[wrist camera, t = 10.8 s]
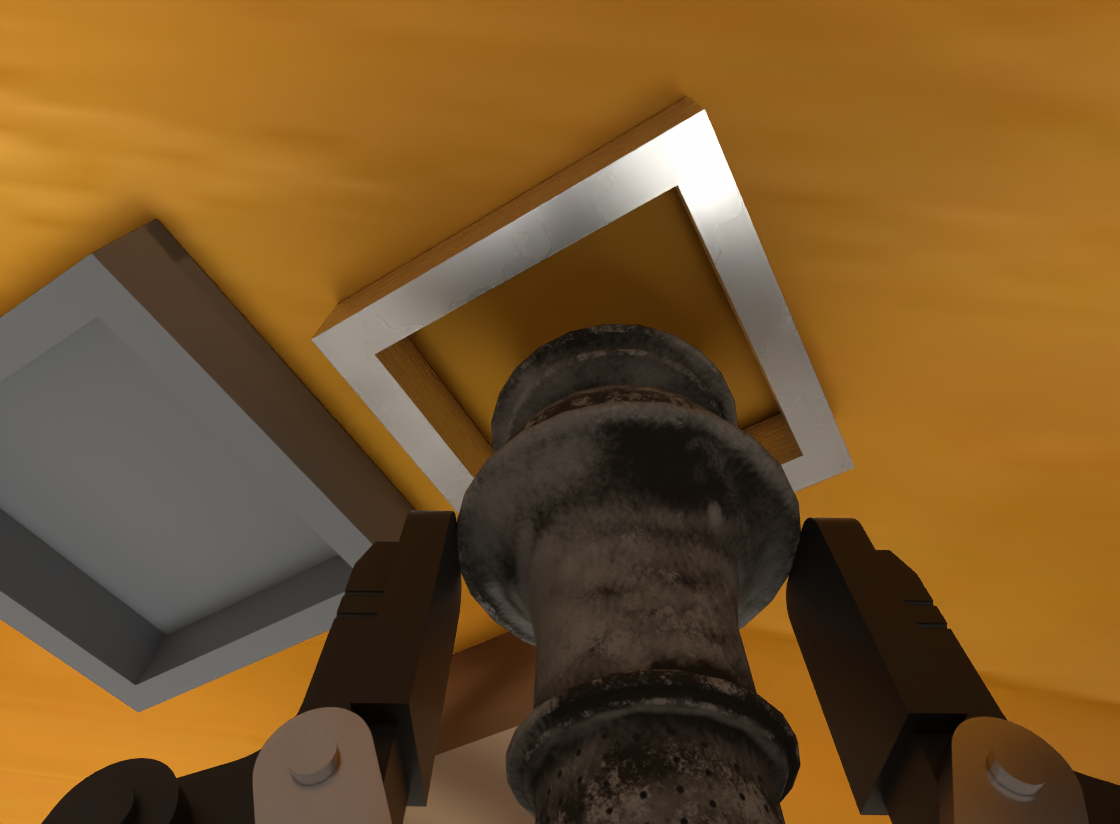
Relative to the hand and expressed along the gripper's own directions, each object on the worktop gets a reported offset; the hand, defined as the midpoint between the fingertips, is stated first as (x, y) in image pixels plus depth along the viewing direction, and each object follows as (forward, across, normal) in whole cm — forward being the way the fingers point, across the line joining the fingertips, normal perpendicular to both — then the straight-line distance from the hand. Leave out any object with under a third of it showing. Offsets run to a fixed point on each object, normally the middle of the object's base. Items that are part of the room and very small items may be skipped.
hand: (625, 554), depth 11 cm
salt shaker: (+4, 0, 0) cm, 4 cm away
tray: (+7, +12, +4) cm, 15 cm away
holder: (+7, 0, 0) cm, 7 cm away
